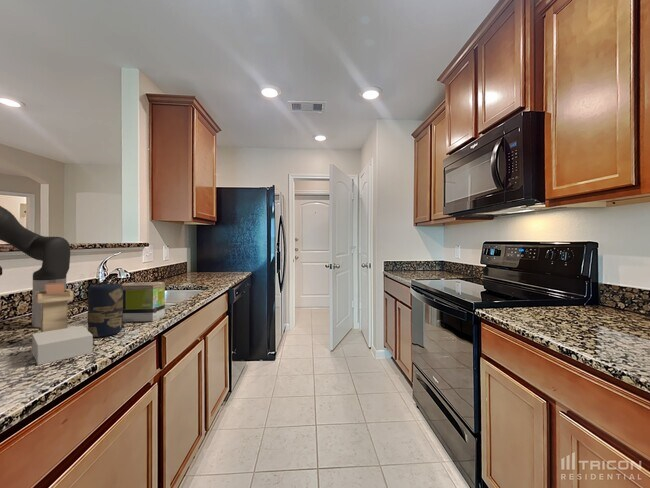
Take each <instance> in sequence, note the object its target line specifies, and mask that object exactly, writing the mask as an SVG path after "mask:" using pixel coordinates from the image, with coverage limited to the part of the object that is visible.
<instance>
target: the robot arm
mask: <svg viewBox="0 0 650 488" xmlns="http://www.w3.org/2000/svg"><path fill="white" fill-rule="evenodd" d="M0 241H2V242H4V243H6V244H9V245H10V246H11V247H14V248H15V249H17V250H19V251H20V252H22V253H24V254H25V255H27V256H28V257H30V258H32V259H34V260H37V261H40V262H42V263H41V267H40V268H39V269H37V270H36V271H33V272H32V301H31V303H32V304H31V312H32V313H31V326H32V328H41V303H37V301H36V300H35V292H38V291H45V284H50V283H63V284H64V289H67V274H68V272H69V270H70V263H71V246H70V243H69V241H68V240H67V239H65V238H64V237H61V236H46V235H45V236H44V235H41V234H38V233H37V232H33V231H32V230H30V229H28V228H26V227H25V226H23V225H22V224H21V223H20V221H19V220H18V219H17V218H16V216H15V215H14V214H13V213H12V212H11V211H9V210H8V209H6V208H4V207H3V206H1V205H0ZM2 275H3V268H2V266H1V265H0V276H2Z"/></svg>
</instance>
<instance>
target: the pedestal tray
mask: <svg viewBox="0 0 650 488" xmlns="http://www.w3.org/2000/svg"><path fill="white" fill-rule="evenodd" d="M35 300H36V301H37V303H41V327H40V332H46V331H52V330H59V329H65V328H68V301H71V300H72V301H73V300H74V290H71V289H70V288H66V289H64V292H60V293H49V294H45V291H38V292H35Z"/></svg>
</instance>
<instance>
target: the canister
mask: <svg viewBox="0 0 650 488" xmlns="http://www.w3.org/2000/svg"><path fill="white" fill-rule="evenodd" d="M122 284H123V283H115V282H113V281H112V282H111V281H102V282H98V283H97V284H93V285H89V286H88V289H87V330H88V331H89V332H90V333H91V334H92V335H93V337H94V338H95V337H97V338H99V337H107V336H108V337H109V336H111V335H112V336H113V335H116V334H118V333H120V332H121V331H122V330H123V323H124V322H123V286H122Z"/></svg>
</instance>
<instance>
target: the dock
mask: <svg viewBox="0 0 650 488" xmlns="http://www.w3.org/2000/svg"><path fill="white" fill-rule="evenodd" d="M31 339H32V340H31V342H32V344H31V347H32V349H31V352H32V354H33V357H34V359H35V362H36V364H37V366H39V365H45V364H49V363H52V362H58V361H62V360H67V359H71V358H75V357H79V356H83V355H89V354H93V350H94V349H93V348H94V346H93V341H94V338H93V335H92V334H91V333H90V332H89V331H88V329H87V328H85V327H84V326H83V325H79V326H72V327H67V328H65V329H59V330H52V331H46V332H41V331H40V332H35V333H32V334H31Z"/></svg>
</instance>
